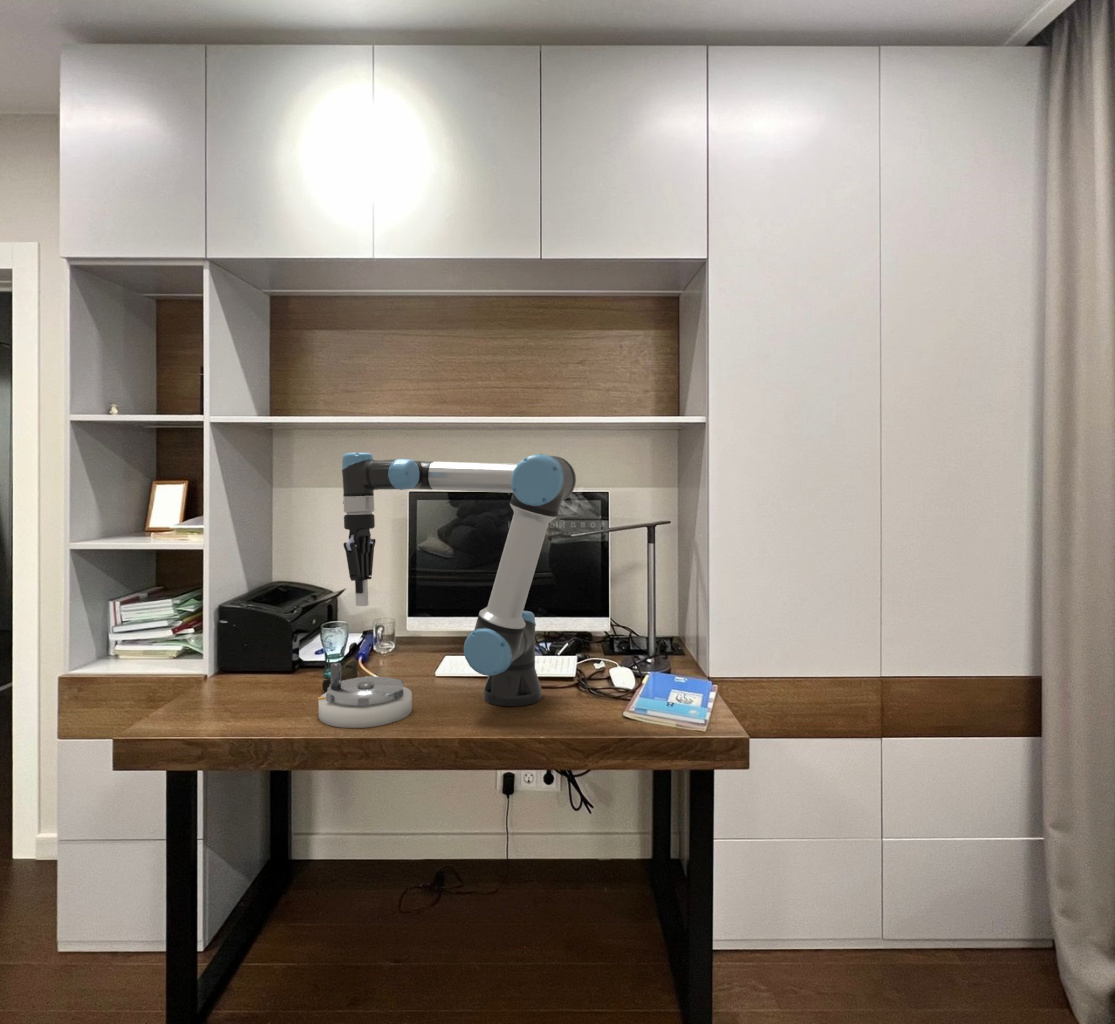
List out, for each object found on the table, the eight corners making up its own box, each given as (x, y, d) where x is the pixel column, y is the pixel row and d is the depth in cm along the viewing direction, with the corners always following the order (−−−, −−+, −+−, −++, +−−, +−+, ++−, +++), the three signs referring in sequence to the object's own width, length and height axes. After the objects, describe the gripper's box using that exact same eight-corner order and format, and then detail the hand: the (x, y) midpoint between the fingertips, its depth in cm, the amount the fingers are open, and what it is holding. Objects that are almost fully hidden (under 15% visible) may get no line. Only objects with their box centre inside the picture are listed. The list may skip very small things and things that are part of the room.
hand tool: (335, 694, 188) (335, 677, 188) (321, 693, 189) (321, 676, 189) (365, 675, 207) (365, 659, 207) (352, 674, 207) (352, 659, 207)
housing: (427, 703, 180) (427, 686, 180) (381, 732, 159) (381, 713, 159) (353, 695, 187) (352, 679, 186) (299, 722, 166) (298, 703, 166)
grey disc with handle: (403, 681, 184) (403, 651, 184) (403, 704, 165) (403, 671, 165) (331, 685, 180) (331, 654, 180) (322, 709, 161) (322, 675, 161)
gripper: (357, 512, 187) (360, 601, 188) (332, 514, 174) (335, 609, 175) (384, 512, 185) (386, 601, 186) (360, 514, 173) (363, 610, 173)
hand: (362, 605), depth 181 cm, fingers closed
